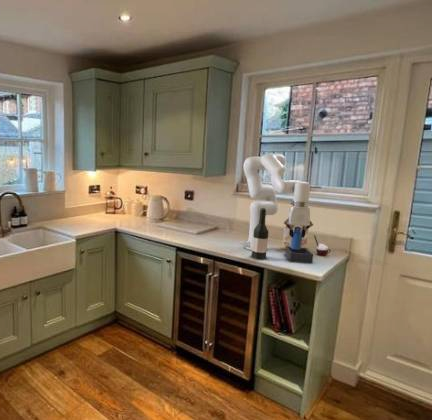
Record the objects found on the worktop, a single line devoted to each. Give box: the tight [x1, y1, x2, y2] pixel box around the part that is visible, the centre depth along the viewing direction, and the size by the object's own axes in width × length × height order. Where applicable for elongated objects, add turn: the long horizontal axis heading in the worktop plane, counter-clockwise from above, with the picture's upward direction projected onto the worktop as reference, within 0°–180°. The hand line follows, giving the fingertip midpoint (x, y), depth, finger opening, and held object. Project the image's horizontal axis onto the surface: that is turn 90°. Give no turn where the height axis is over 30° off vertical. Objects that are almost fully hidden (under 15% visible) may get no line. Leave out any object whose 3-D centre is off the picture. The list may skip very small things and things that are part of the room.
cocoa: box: [313, 235, 331, 256], centre depth 222 cm, size 10×6×12 cm, turn 53°
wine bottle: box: [251, 208, 269, 261], centre depth 213 cm, size 8×8×30 cm
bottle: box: [291, 227, 302, 250], centre depth 199 cm, size 5×5×12 cm
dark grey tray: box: [284, 247, 314, 264], centre depth 214 cm, size 12×14×5 cm
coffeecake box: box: [281, 218, 309, 250], centre depth 234 cm, size 15×7×20 cm, turn 115°
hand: (296, 236), depth 199 cm, fingers closed on bottle, 5 cm apart
